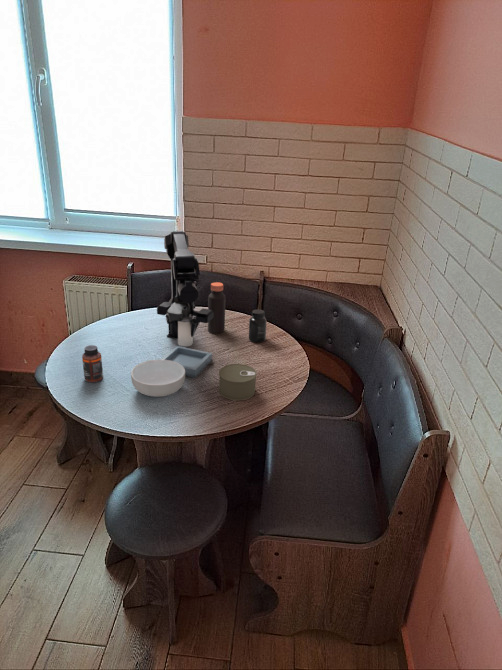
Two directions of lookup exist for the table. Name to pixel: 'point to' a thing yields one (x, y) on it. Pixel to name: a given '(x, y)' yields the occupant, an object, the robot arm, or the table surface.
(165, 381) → the cereal bowl
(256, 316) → the supplement bottle
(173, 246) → the robot arm
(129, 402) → the table surface
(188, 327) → the shaker
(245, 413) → the table surface
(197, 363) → the tray
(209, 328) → the vinegar
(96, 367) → the supplement bottle
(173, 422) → the table surface
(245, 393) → the can
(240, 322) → the table surface
